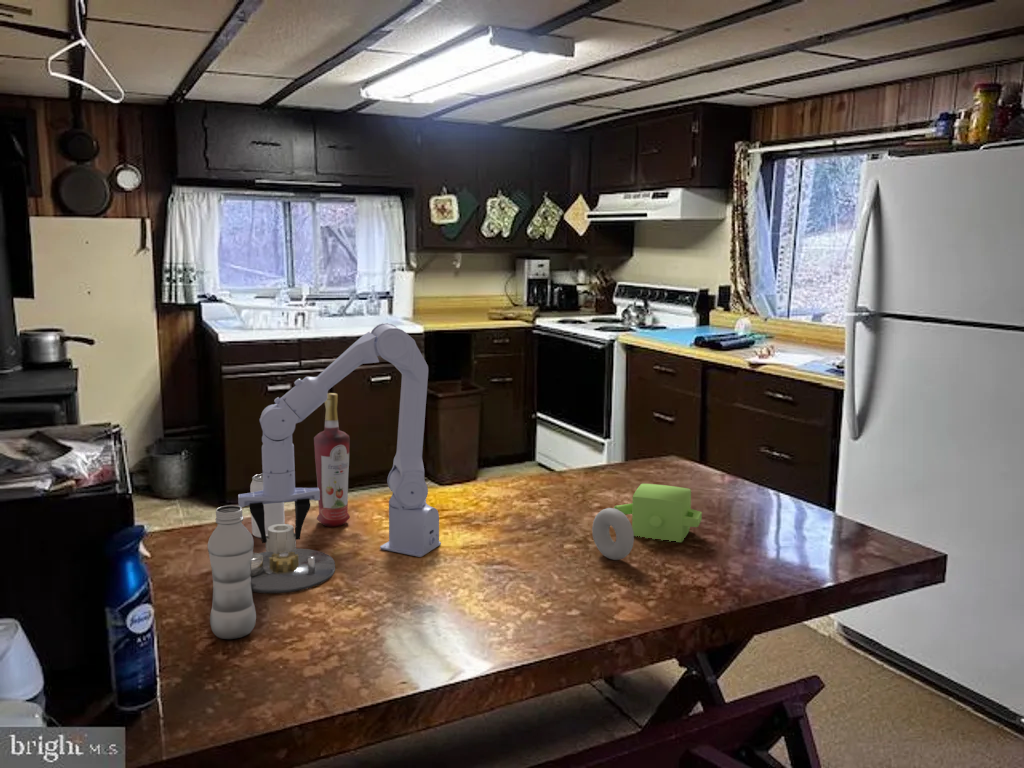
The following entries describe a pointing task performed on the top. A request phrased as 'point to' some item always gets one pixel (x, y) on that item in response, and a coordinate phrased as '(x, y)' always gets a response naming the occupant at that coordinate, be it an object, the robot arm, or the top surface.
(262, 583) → the carrier
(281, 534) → the planet gear
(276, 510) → the can
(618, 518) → the donut
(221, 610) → the plastic bottle
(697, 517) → the gearbox
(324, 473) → the liquor
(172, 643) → the top surface
